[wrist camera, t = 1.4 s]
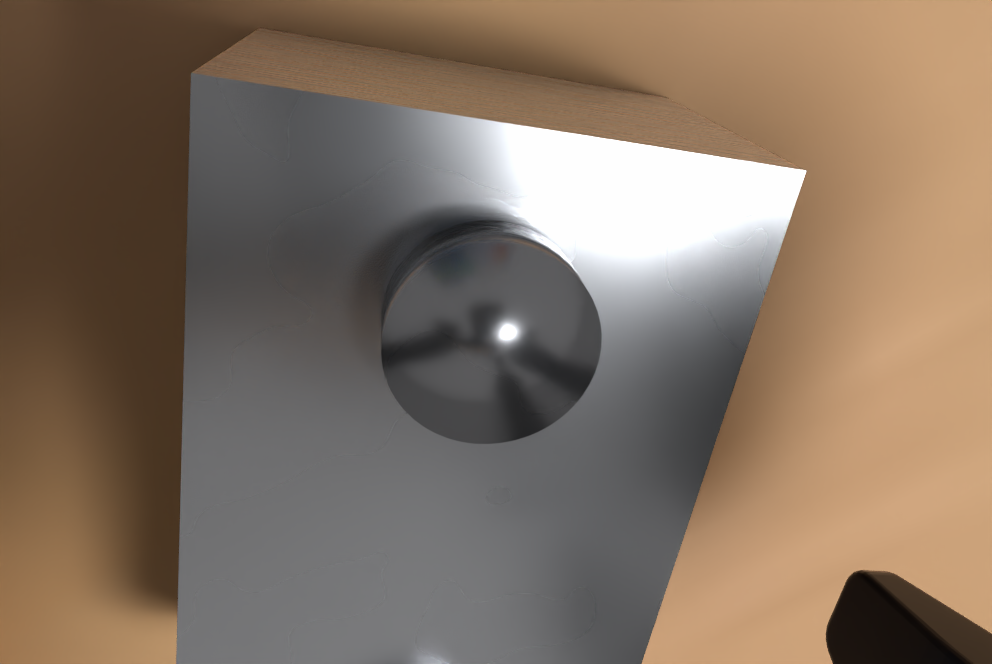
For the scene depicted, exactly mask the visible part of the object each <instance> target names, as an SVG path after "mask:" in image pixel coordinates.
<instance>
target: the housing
mask: <svg viewBox="0 0 992 664" xmlns="http://www.w3.org/2000/svg"><path fill="white" fill-rule="evenodd" d="M805 173H806V170H804V169H802V168H800V167H798V166H796V165H794V164H792V163H790V162H789V161H787V160H785V159H783V158H781V157H779V156H777V155H775V154H773V153H771V152H770V151H768V150H766V149H764V148H762V147H760V146H758V145H756V144H754V143H752V142H750V141H749V140H747V139H745V138H743V137H741V136H739V135H737V134H735V133H733V132H731V131H730V130H728V129H726V128H724V127H722V126H720V125H718V124H716V123H714V122H712V121H710V120H709V119H707V118H705V117H703V116H701V115H699V114H697V113H695V112H693V111H691V110H690V109H688V108H686V107H684V106H682V105H680V104H678V103H676V102H674V101H672V100H670V99H669V98H667V97H661V96H656V95H650V94H644V93H638V92H632V91H626V90H621V89H615V88H609V87H603V86H597V85H591V84H586V83H580V82H574V81H568V80H562V79H556V78H551V77H545V76H539V75H533V74H527V73H521V72H516V71H510V70H504V69H498V68H492V67H486V66H481V65H475V64H469V63H463V62H457V61H451V60H445V59H440V58H434V57H428V56H422V55H416V54H410V53H405V52H399V51H393V50H387V49H381V48H375V47H370V46H364V45H358V44H352V43H346V42H340V41H335V40H329V39H323V38H317V37H311V36H305V35H300V34H294V33H288V32H282V31H276V30H270V29H265V28H259V29H257V30H256V31H254V32H252V33H251V34H249V35H248V36H246V37H245V38H243V39H242V40H240V41H239V42H237V43H236V44H234V45H233V46H231V47H230V48H228V49H227V50H225V51H224V52H222V53H221V54H219V55H217V56H216V57H214V58H213V59H211V60H210V61H208V62H207V63H205V64H204V65H202V66H201V67H199V68H198V69H196V70H195V71H193V72H192V73H191V94H190V134H189V174H188V214H187V254H186V295H185V335H184V375H183V415H182V455H181V495H180V536H179V576H178V616H177V656H176V664H641V663H642V660H643V657H644V654H645V651H646V648H647V645H648V642H649V639H650V636H651V633H652V630H653V627H654V624H655V621H656V618H657V615H658V612H659V609H660V606H661V603H662V600H663V597H664V594H665V591H666V588H667V585H668V582H669V579H670V576H671V573H672V570H673V567H674V564H675V561H676V558H677V555H678V552H679V550H680V547H681V544H682V541H683V538H684V535H685V532H686V529H687V526H688V523H689V520H690V517H691V514H692V511H693V508H694V505H695V502H696V499H697V496H698V493H699V490H700V487H701V484H702V481H703V478H704V475H705V472H706V469H707V466H708V463H709V460H710V457H711V454H712V451H713V448H714V445H715V442H716V439H717V436H718V433H719V430H720V427H721V424H722V421H723V418H724V415H725V412H726V409H727V406H728V403H729V400H730V397H731V394H732V391H733V388H734V385H735V382H736V379H737V376H738V373H739V370H740V367H741V364H742V361H743V358H744V355H745V352H746V349H747V346H748V343H749V340H750V337H751V334H752V332H753V329H754V326H755V323H756V320H757V317H758V314H759V311H760V308H761V305H762V302H763V299H764V296H765V293H766V290H767V287H768V284H769V281H770V278H771V275H772V272H773V269H774V266H775V263H776V260H777V257H778V254H779V251H780V248H781V245H782V242H783V239H784V236H785V233H786V230H787V227H788V224H789V221H790V218H791V215H792V212H793V209H794V206H795V203H796V200H797V197H798V194H799V191H800V188H801V185H802V182H803V179H804V176H805Z"/></svg>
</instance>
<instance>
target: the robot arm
mask: <svg viewBox="0 0 992 664" xmlns="http://www.w3.org/2000/svg"><path fill="white" fill-rule="evenodd" d="M826 642H827V648H828V651H829V654H830V657H831V660H832V663H833V664H992V634H991V633H990V632H988V631H986V630H985V629H983V628H982V627H980V626H978V625H977V624H975V623H974V622H972V621H970V620H969V619H967V618H965V617H964V616H962V615H961V614H959V613H957V612H956V611H954V610H953V609H951V608H949V607H948V606H946V605H944V604H943V603H941V602H940V601H938V600H936V599H935V598H933V597H932V596H930V595H928V594H927V593H925V592H923V591H922V590H920V589H919V588H917V587H915V586H914V585H912V584H911V583H909V582H907V581H906V580H904V579H902V578H901V577H899V576H898V575H896V574H894V573H890V572H886V571H868V570H860V571H856V572H854V573H853V574H852V575H850V576H849V578H848V579H847V581H846V583H845V586H844V588H843V590H842V592H841V595H840V597H839V599H838V601H837V604H836V606H835V608H834V611H833V613H832V615H831V617H830V620H829V622H828V625H827V630H826Z"/></svg>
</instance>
